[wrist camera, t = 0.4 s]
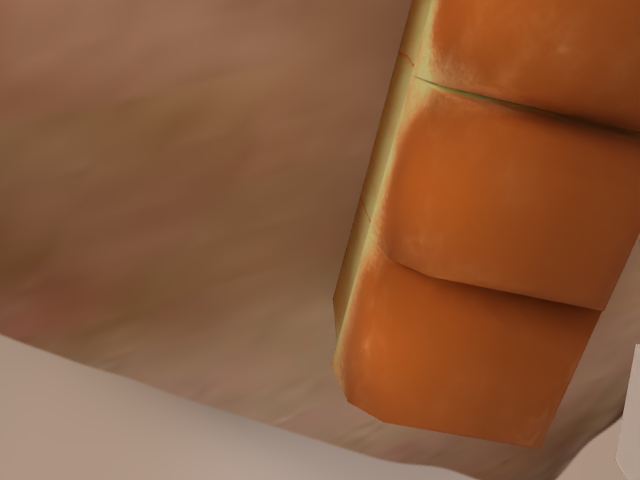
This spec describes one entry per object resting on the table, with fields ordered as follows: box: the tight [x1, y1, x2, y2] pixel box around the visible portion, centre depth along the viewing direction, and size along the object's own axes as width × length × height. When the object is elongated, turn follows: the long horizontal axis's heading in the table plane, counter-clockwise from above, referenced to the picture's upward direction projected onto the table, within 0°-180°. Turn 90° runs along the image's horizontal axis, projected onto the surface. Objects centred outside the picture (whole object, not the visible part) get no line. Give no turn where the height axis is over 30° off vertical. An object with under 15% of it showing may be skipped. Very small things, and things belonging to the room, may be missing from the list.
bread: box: [331, 0, 640, 449], centre depth 31 cm, size 25×12×15 cm, turn 167°
